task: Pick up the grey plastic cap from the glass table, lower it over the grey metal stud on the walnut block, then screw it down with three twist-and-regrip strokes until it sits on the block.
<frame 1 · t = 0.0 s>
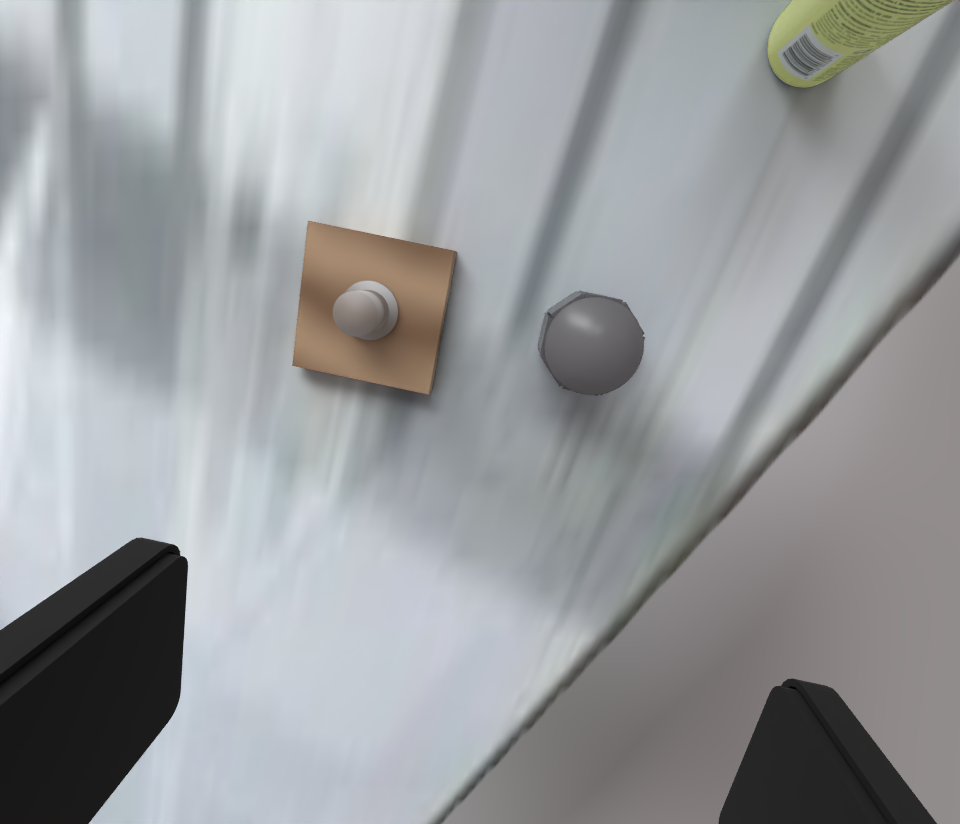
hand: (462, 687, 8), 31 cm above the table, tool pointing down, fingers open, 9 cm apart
tube: (808, 46, 32), on the table
cap: (584, 338, 38), on the table
stud block: (375, 309, 38), on the table
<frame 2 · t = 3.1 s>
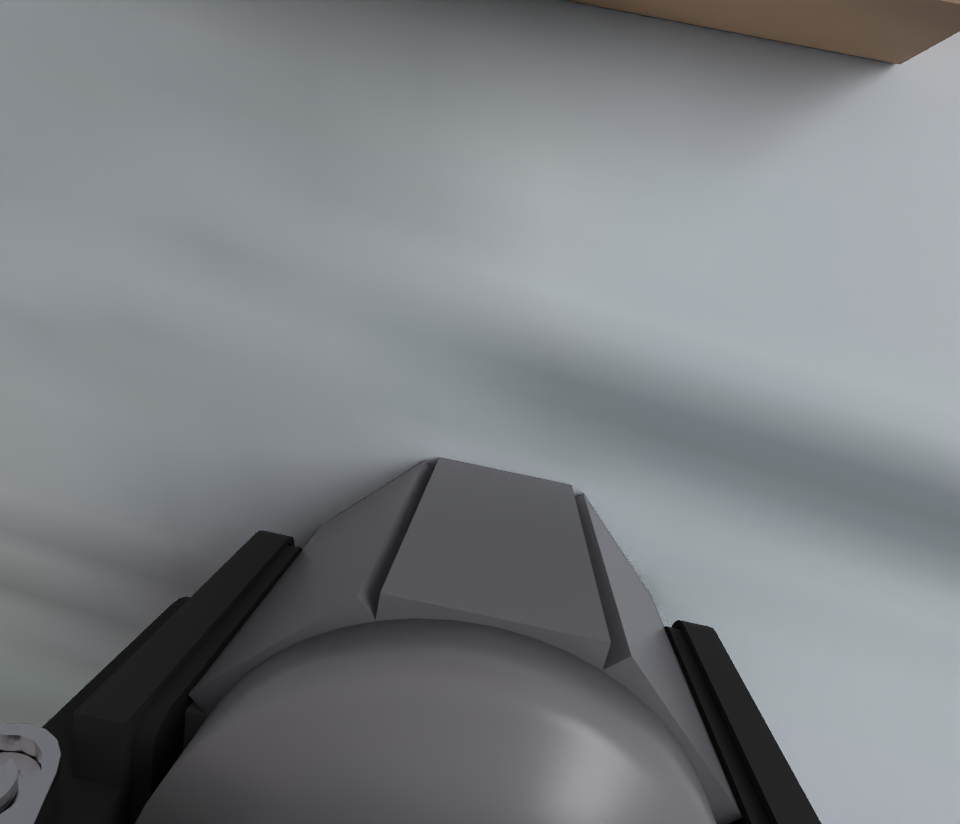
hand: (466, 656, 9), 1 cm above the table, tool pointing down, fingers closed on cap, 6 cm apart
cap: (470, 624, 10), on the table, touching gripper
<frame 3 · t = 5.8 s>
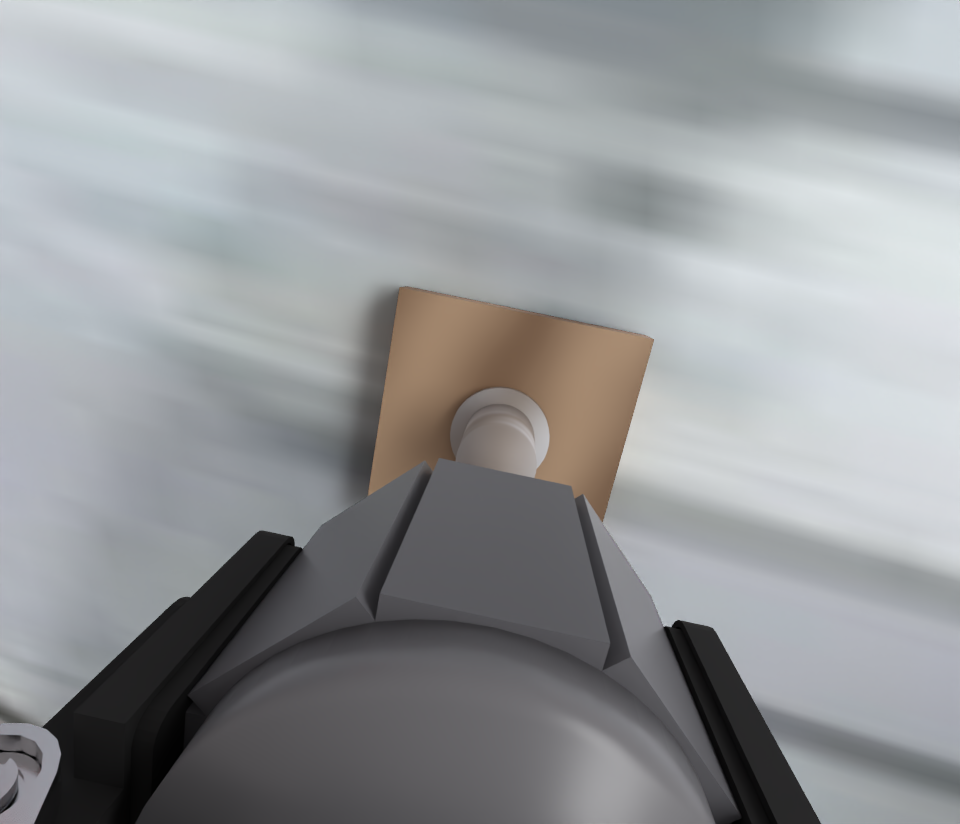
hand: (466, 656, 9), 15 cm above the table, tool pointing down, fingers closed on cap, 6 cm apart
cap: (470, 625, 10), point 14 cm above the table, touching gripper
stud block: (501, 424, 23), on the table
when the fingers open (3 cm above the table, at t = 8.7 s): cap stays where it is, resting on stud block.
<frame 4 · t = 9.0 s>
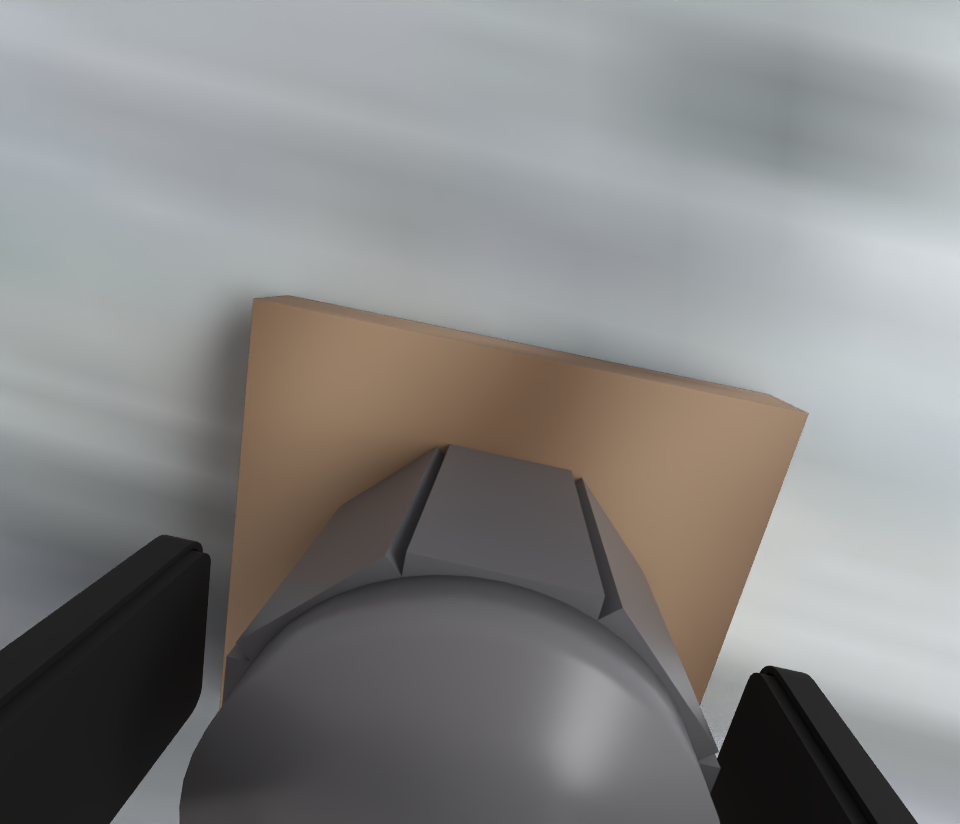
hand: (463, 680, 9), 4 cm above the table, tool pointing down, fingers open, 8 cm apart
cap: (477, 599, 11), point 1 cm above the table, touching stud block
stud block: (479, 559, 12), on the table
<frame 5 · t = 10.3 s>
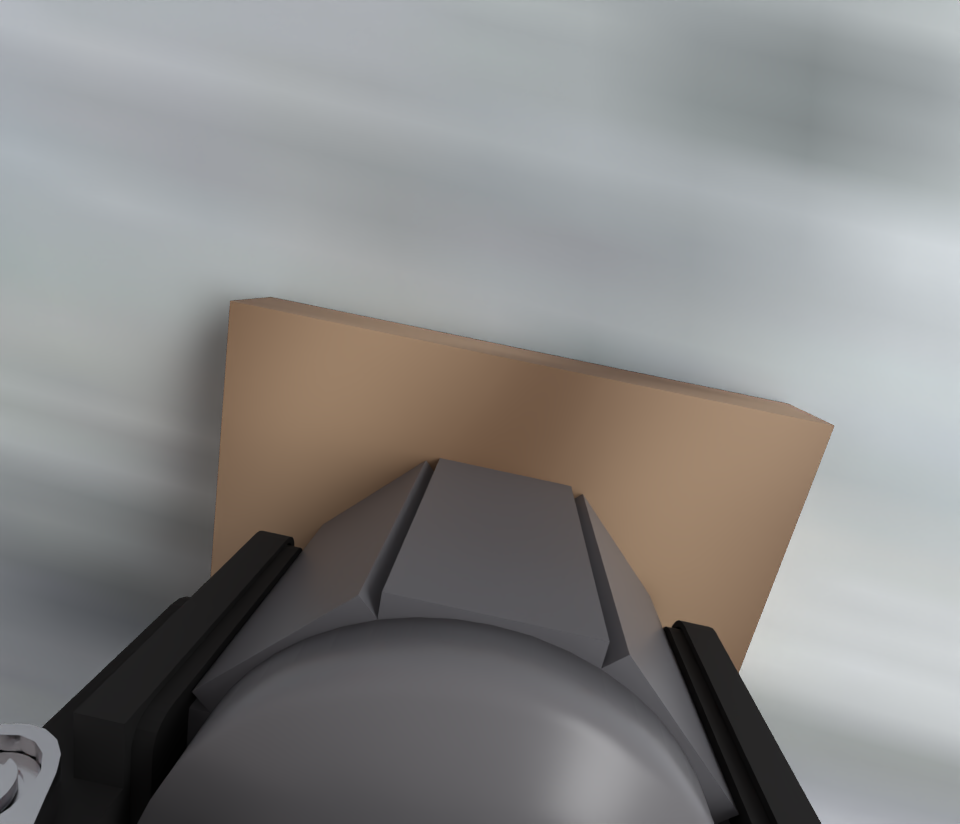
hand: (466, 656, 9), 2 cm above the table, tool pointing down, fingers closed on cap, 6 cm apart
cap: (470, 624, 10), point 2 cm above the table, touching gripper, stud block
stud block: (477, 578, 11), on the table
when the fingers open (2 cm above the table, at t = 14.5 s): cap stays where it is, resting on stud block.
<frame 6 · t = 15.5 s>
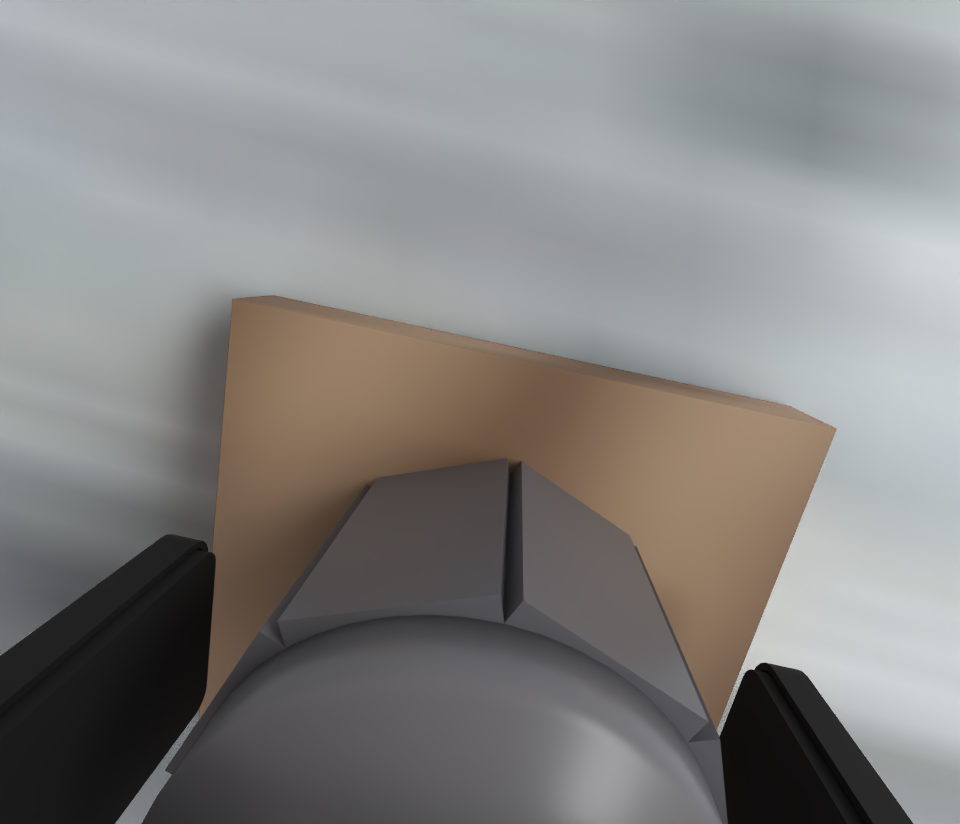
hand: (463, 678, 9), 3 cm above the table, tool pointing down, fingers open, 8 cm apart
cap: (474, 622, 10), point 1 cm above the table, touching stud block
stud block: (477, 578, 11), on the table
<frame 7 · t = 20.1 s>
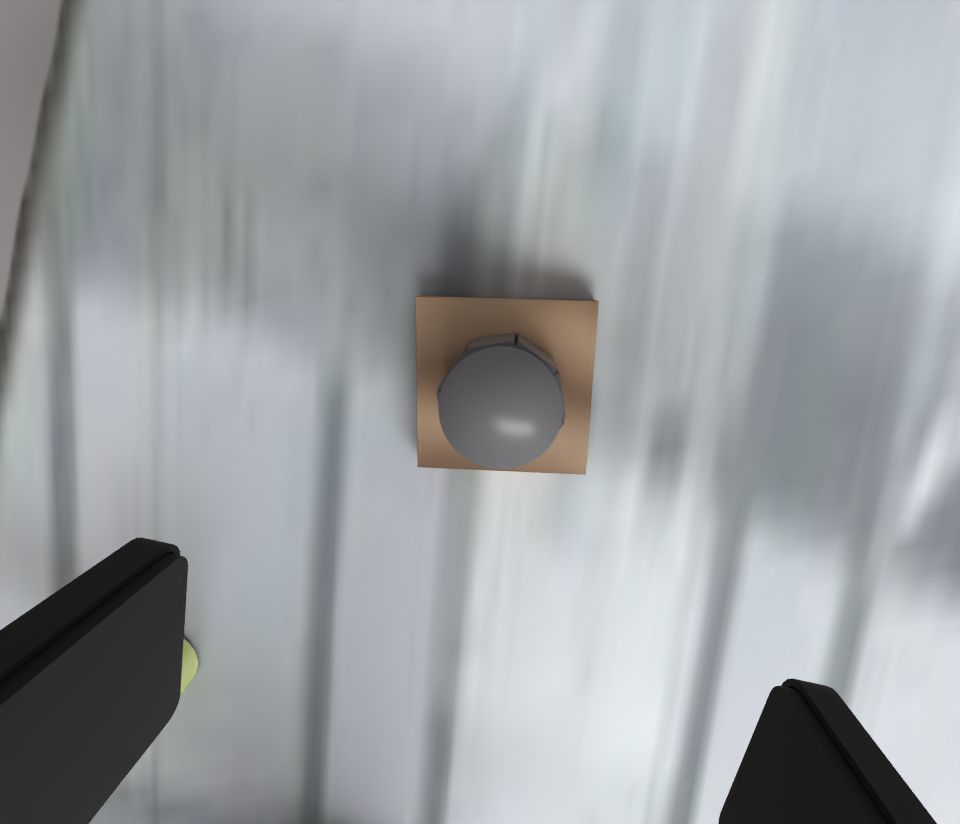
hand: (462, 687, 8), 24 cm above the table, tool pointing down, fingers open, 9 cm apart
tube: (166, 653, 39), on the table
cap: (503, 389, 30), point 1 cm above the table, touching stud block
stud block: (504, 383, 32), on the table
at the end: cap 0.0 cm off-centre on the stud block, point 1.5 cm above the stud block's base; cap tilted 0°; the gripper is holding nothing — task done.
